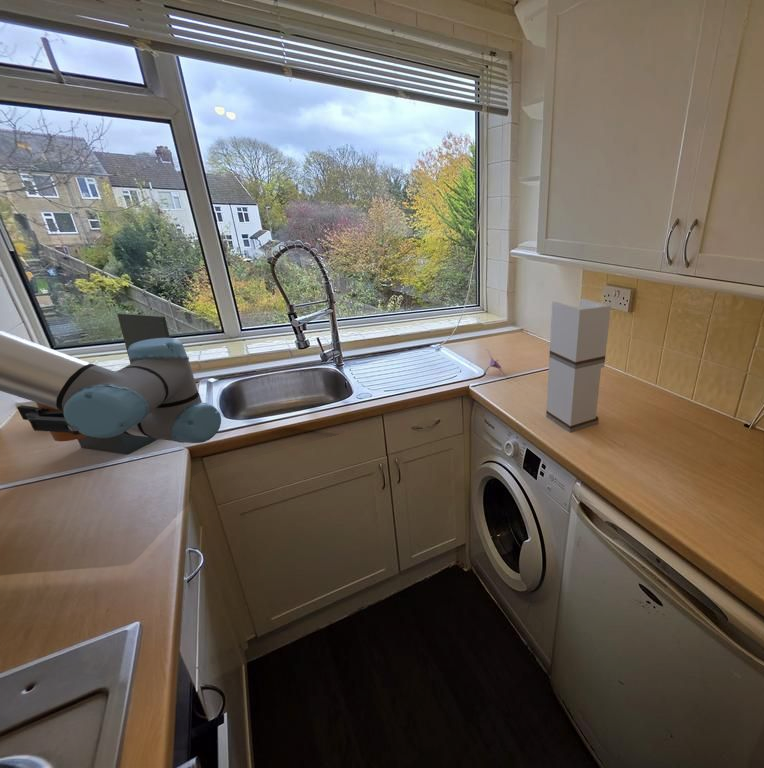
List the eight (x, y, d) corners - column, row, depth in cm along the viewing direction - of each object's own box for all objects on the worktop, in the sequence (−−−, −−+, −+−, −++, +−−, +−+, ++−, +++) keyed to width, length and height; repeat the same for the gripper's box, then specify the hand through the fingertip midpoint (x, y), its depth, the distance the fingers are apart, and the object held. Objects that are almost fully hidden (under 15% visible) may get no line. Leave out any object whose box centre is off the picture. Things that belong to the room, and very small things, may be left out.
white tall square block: (597, 423, 120) (610, 305, 106) (569, 432, 115) (579, 309, 101) (573, 408, 129) (582, 298, 115) (546, 416, 123) (552, 301, 110)
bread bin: (127, 454, 101) (110, 412, 96) (81, 447, 103) (61, 406, 99) (191, 421, 117) (179, 384, 112) (150, 416, 119) (136, 379, 115)
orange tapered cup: (43, 442, 80) (20, 396, 76) (74, 425, 86) (54, 382, 82) (82, 440, 81) (61, 395, 77) (110, 423, 87) (92, 381, 83)
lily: (499, 384, 149) (511, 361, 148) (471, 370, 149) (482, 346, 148) (502, 382, 161) (513, 360, 160) (475, 368, 161) (486, 347, 160)
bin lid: (162, 316, 106) (165, 316, 107) (116, 313, 109) (120, 313, 109) (177, 383, 112) (180, 382, 113) (134, 378, 114) (137, 378, 115)
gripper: (87, 460, 70) (-12, 445, 74) (192, 410, 88) (108, 400, 92) (70, 422, 67) (-32, 408, 71) (182, 379, 85) (95, 369, 90)
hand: (47, 404), depth 82 cm, fingers closed on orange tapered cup, 7 cm apart
